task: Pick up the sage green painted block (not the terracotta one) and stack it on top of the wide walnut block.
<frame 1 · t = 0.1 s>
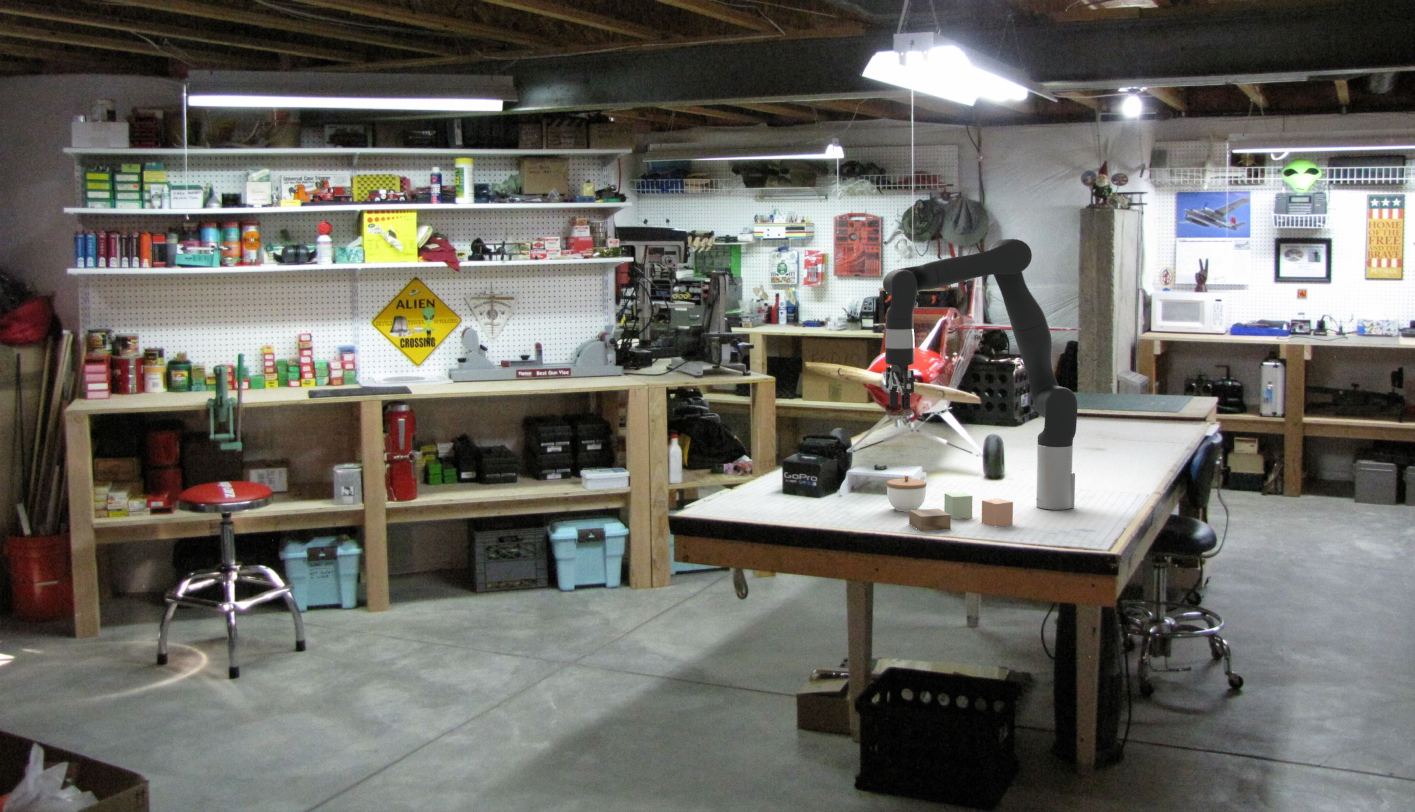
hand: (899, 407, 324), 29 cm above the table, tool pointing down, fingers open, 8 cm apart
lidded jar: (906, 510, 335), on the table
terracotta block: (997, 524, 316), on the table
sage block: (958, 516, 325), on the table
walnut base: (929, 528, 313), on the table
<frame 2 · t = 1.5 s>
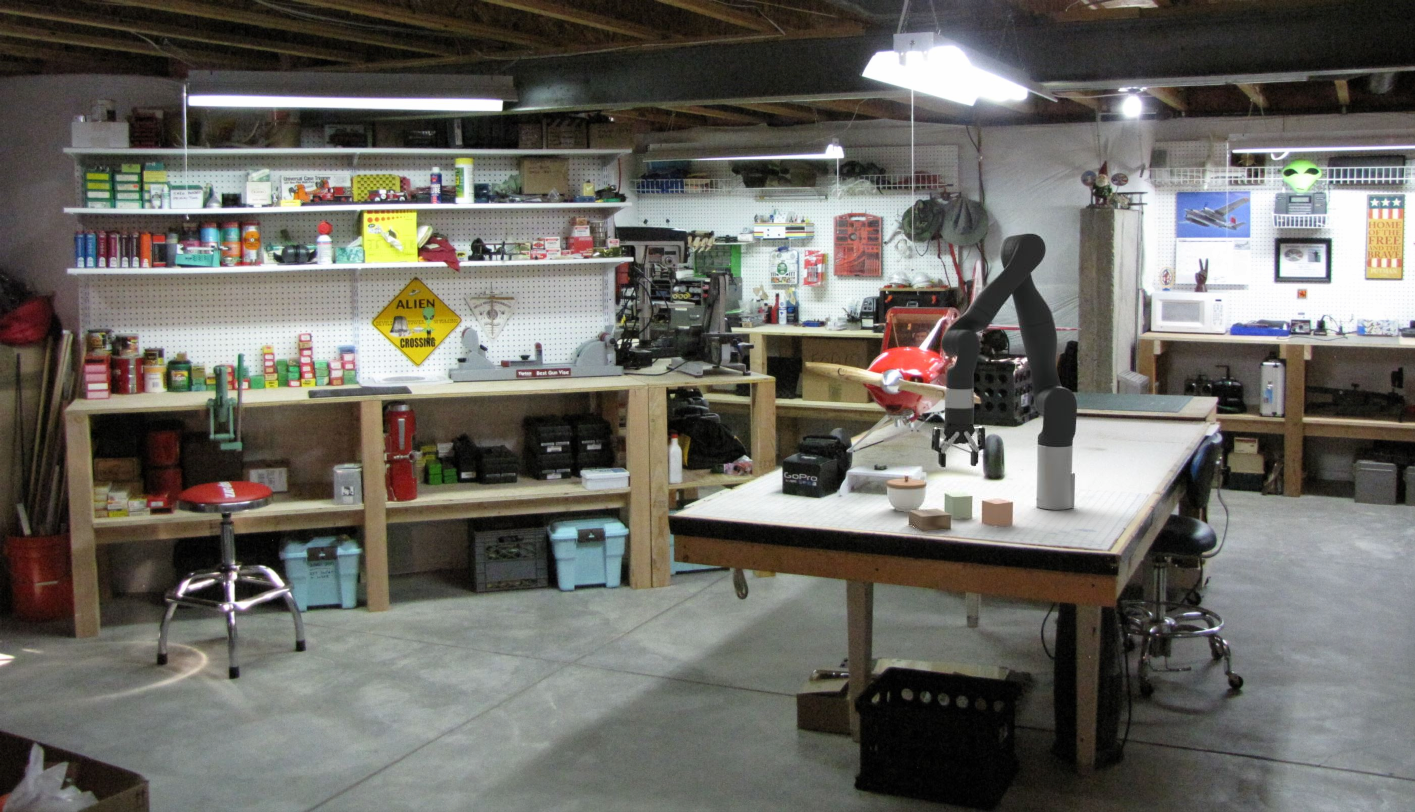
hand: (958, 466, 324), 13 cm above the table, tool pointing down, fingers open, 8 cm apart
nothing on the table moved.
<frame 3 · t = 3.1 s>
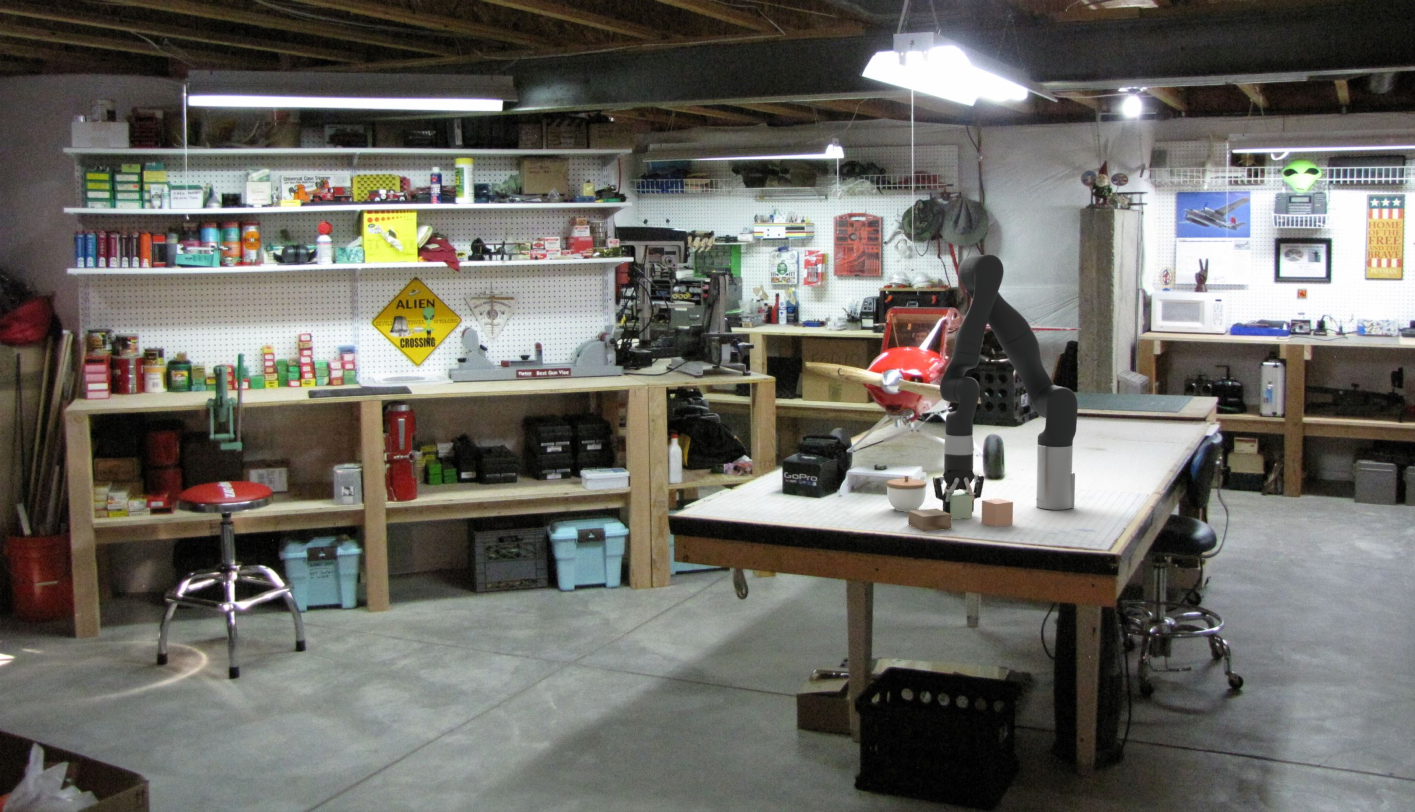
hand: (958, 514, 325), 1 cm above the table, tool pointing down, fingers closed on sage block, 5 cm apart
sage block: (958, 516, 325), on the table, touching gripper
everything else where it was.
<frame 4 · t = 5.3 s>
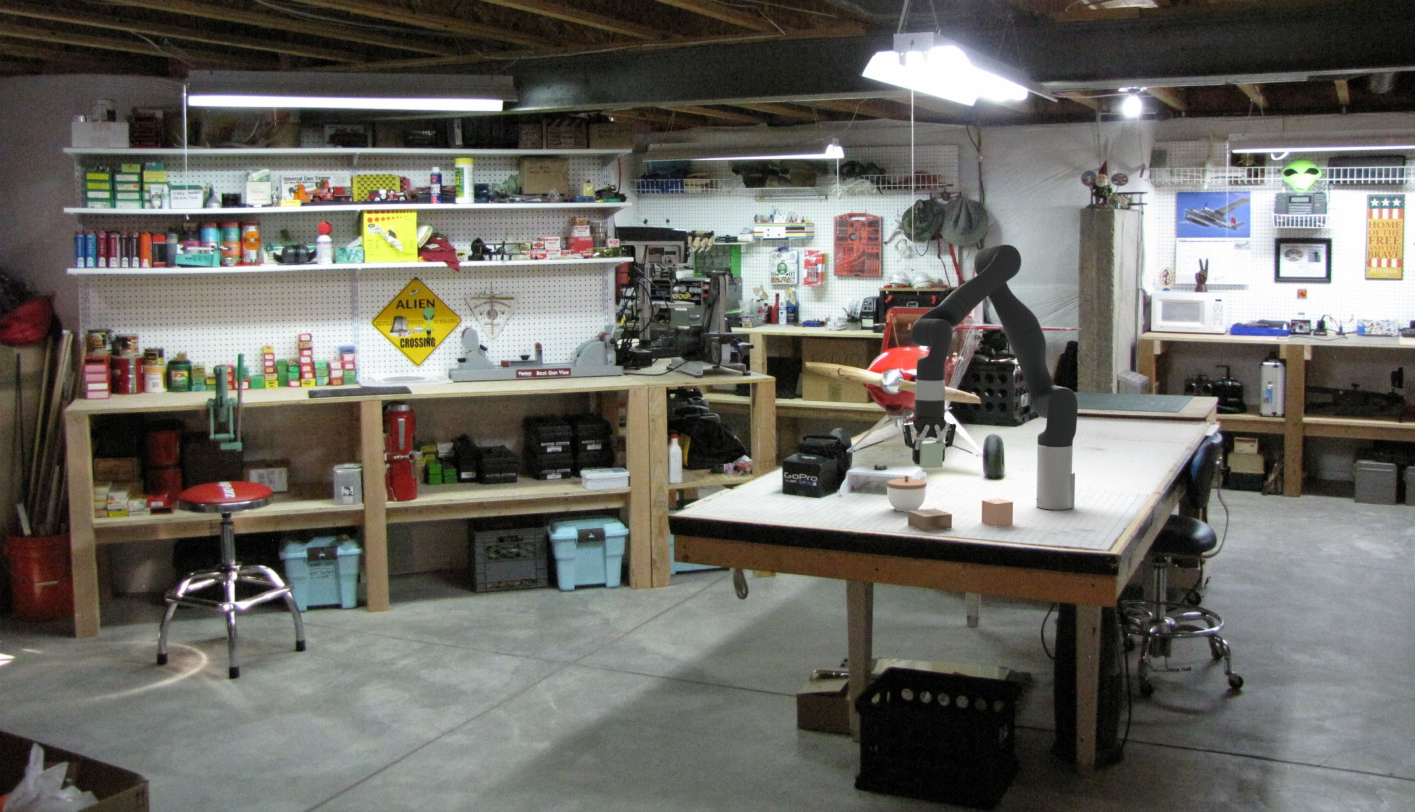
hand: (928, 463, 312), 16 cm above the table, tool pointing down, fingers closed on sage block, 5 cm apart
sage block: (928, 465, 312), point 16 cm above the table, touching gripper
everything else where it was.
when the fingers open (6 cm above the table, at t = 7.7 s): sage block drops 1 cm, resting on walnut base.
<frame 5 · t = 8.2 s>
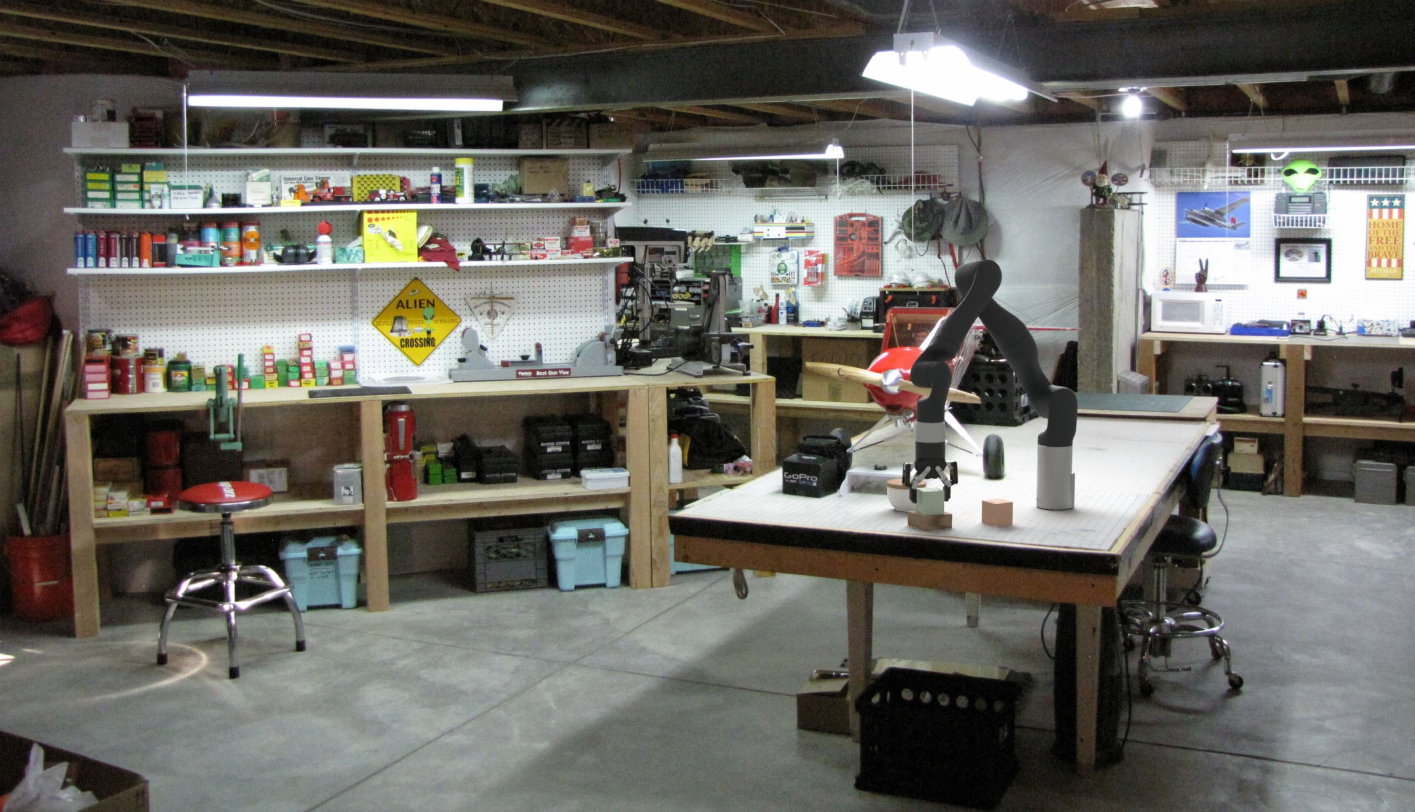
hand: (929, 502, 312), 6 cm above the table, tool pointing down, fingers open, 8 cm apart
sage block: (929, 512, 313), point 4 cm above the table, touching walnut base
walnut base: (929, 528, 313), on the table, touching sage block
everything else where it was.
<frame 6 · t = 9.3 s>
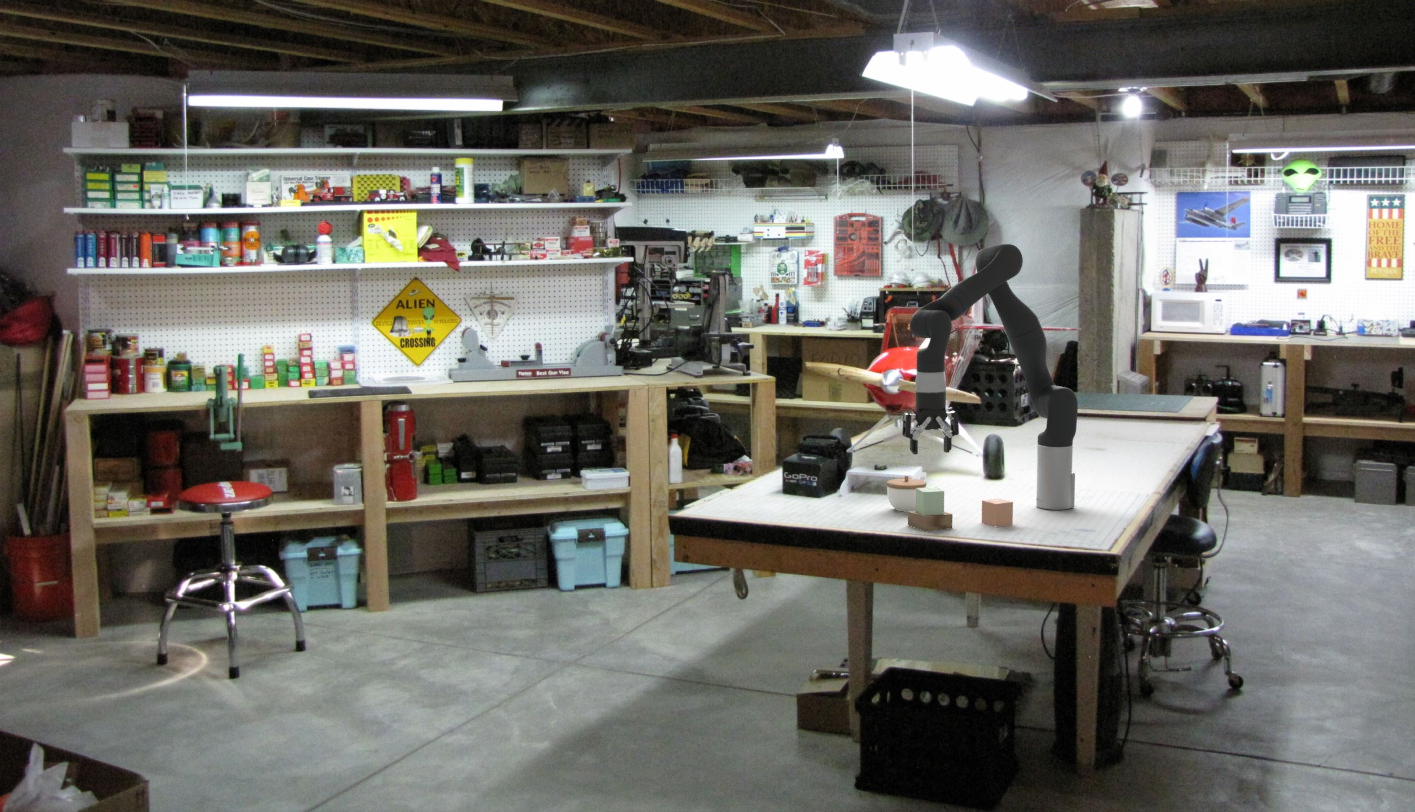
hand: (930, 453, 311), 19 cm above the table, tool pointing down, fingers open, 8 cm apart
sage block: (929, 512, 313), point 4 cm above the table
walnut base: (929, 528, 313), on the table
everything else where it was.
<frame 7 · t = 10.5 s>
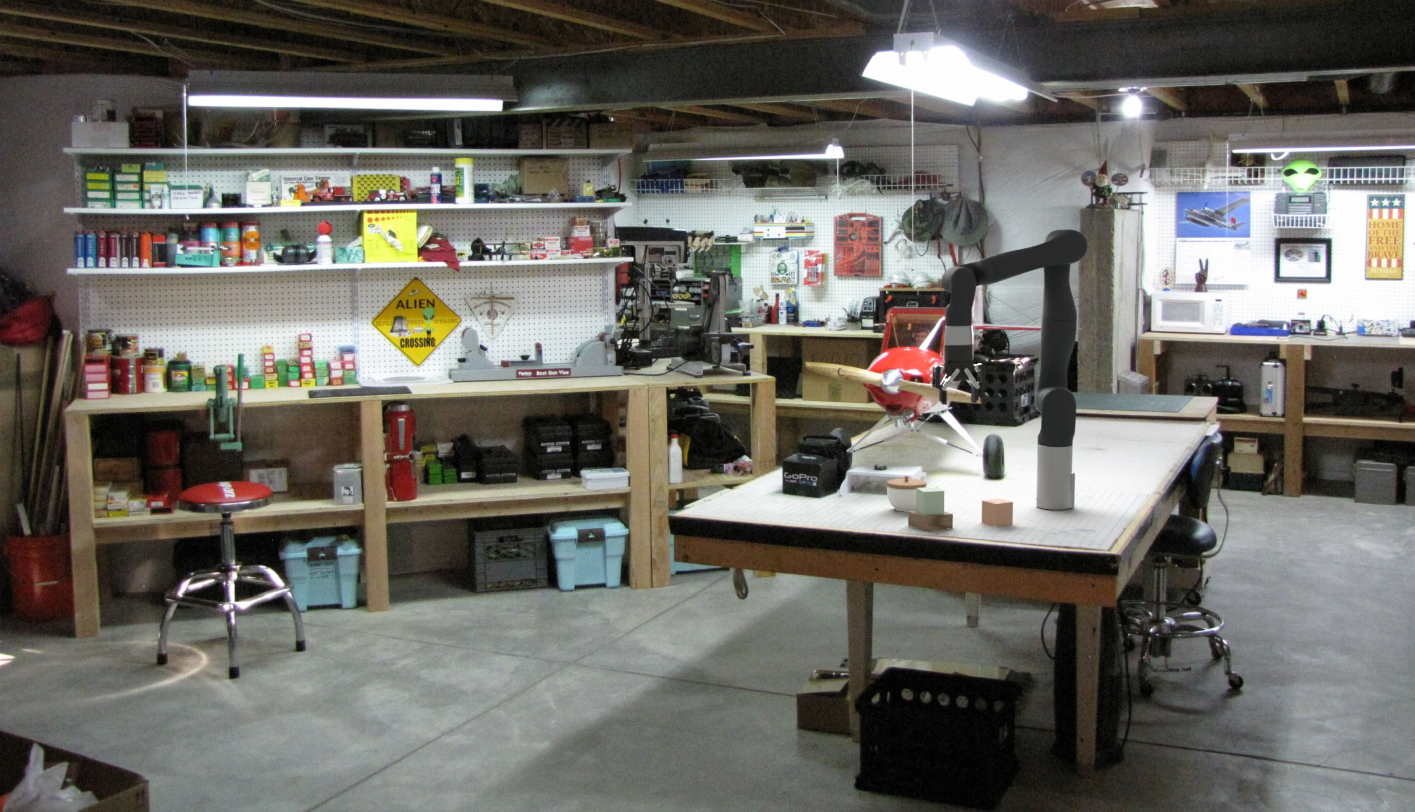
hand: (959, 403, 327), 30 cm above the table, tool pointing down, fingers open, 8 cm apart
nothing on the table moved.
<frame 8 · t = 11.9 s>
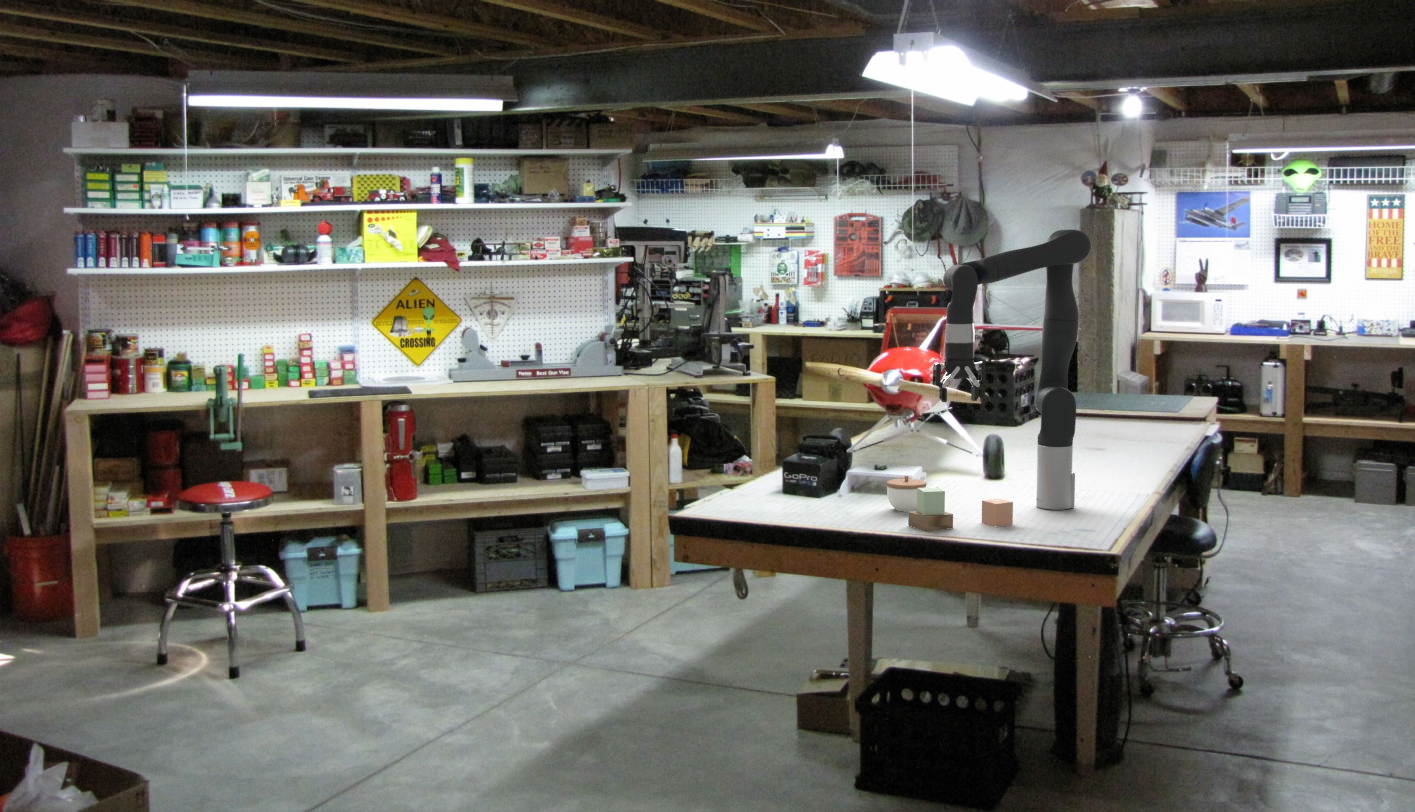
hand: (959, 401, 327), 30 cm above the table, tool pointing down, fingers open, 8 cm apart
nothing on the table moved.
at the end: sage block 0.1 cm off-centre on the walnut base, point 4.0 cm above the walnut base's base; sage block tilted 0°; terracotta block moved 0.1 cm from its start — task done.
